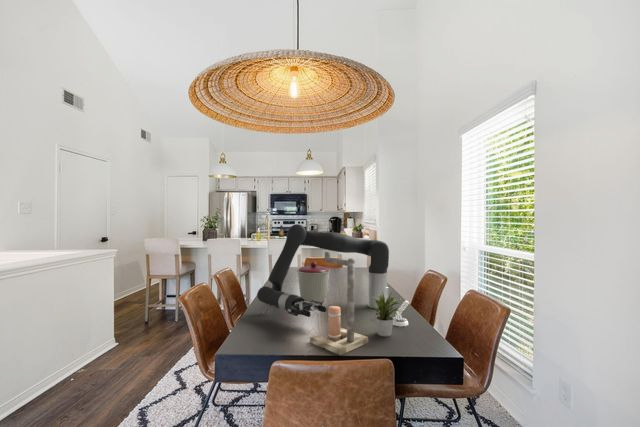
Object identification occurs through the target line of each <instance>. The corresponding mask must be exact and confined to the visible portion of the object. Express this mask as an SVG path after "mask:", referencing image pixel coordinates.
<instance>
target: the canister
mask: <svg viewBox="0 0 640 427" xmlns="http://www.w3.org/2000/svg"><path fill="white" fill-rule="evenodd" d="M309 264H310V265H305V266H301V267H299V268H298V269H297V270H296V272H297V277H298V285H299V296H301V297H302V298H303V299H304V301H308V302H311V301H312V300H313V301H317V302H321V303H323V302H324V301H325V300H326V298H327V294H328V287H329V281H330V280H329V279H330V278H329V276H330V273H331V269H329V268H328V267H326V266H323V265H321V266H320V265H318V263H317V261H311V262H310V263H309Z"/></svg>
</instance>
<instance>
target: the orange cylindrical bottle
mask: <svg viewBox="0 0 640 427" xmlns="http://www.w3.org/2000/svg"><path fill="white" fill-rule="evenodd" d="M327 309H328V312H327V316H328V318H327V322H328V324H327V325H328V326H327V327H328V330H327V331H328V333H327V336H328V338H327V339H328V340H331V341H334V342H337V341H339V340H341V337H340V336H341V333H340V328H341V315H342V314H341V313H342V312H341V307H340V306H336V305H331V306H328V308H327Z"/></svg>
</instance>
